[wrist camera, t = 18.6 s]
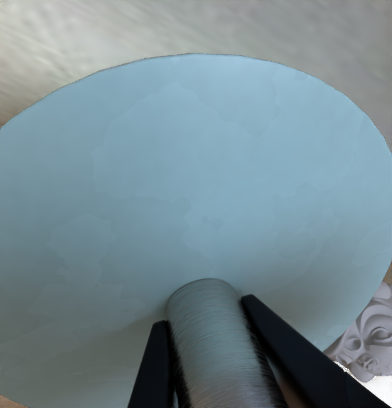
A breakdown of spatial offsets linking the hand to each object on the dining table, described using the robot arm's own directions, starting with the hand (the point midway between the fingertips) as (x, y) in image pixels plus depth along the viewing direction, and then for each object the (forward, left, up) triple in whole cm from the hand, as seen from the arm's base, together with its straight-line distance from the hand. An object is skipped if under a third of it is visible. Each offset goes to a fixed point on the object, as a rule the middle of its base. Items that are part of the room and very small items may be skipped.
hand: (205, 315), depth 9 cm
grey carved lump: (-9, -10, -7) cm, 15 cm away
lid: (0, 0, -1) cm, 1 cm away
